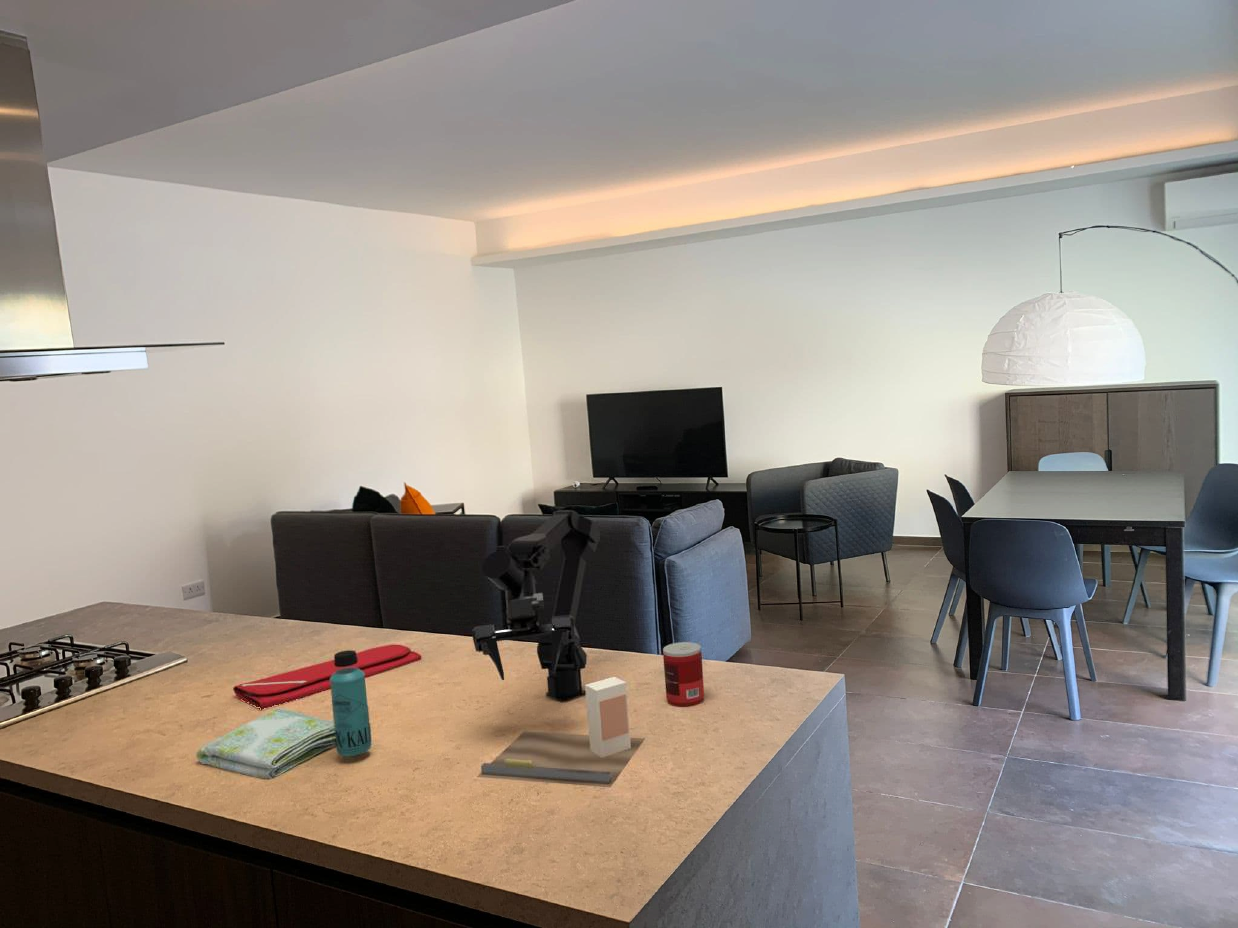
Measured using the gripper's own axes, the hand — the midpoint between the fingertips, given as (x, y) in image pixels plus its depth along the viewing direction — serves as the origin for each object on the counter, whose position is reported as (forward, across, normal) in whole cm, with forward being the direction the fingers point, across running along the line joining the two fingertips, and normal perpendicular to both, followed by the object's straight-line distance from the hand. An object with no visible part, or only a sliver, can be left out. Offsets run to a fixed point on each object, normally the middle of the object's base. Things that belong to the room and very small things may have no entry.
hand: (528, 675), depth 163 cm
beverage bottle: (+6, -33, +13) cm, 36 cm away
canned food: (+1, +31, +22) cm, 37 cm away
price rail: (+20, +1, -3) cm, 20 cm away
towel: (+2, -50, +18) cm, 53 cm away
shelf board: (+15, +5, +3) cm, 16 cm away
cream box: (+14, +13, +4) cm, 20 cm away
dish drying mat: (-27, -48, +51) cm, 75 cm away
